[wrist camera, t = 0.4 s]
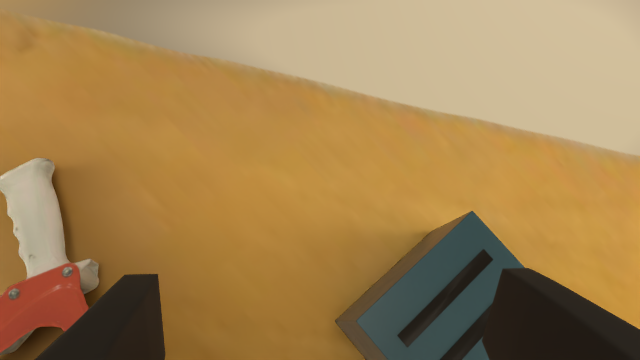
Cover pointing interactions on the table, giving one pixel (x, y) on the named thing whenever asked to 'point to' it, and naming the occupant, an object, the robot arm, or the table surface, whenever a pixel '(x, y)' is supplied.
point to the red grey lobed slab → (40, 259)
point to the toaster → (432, 297)
